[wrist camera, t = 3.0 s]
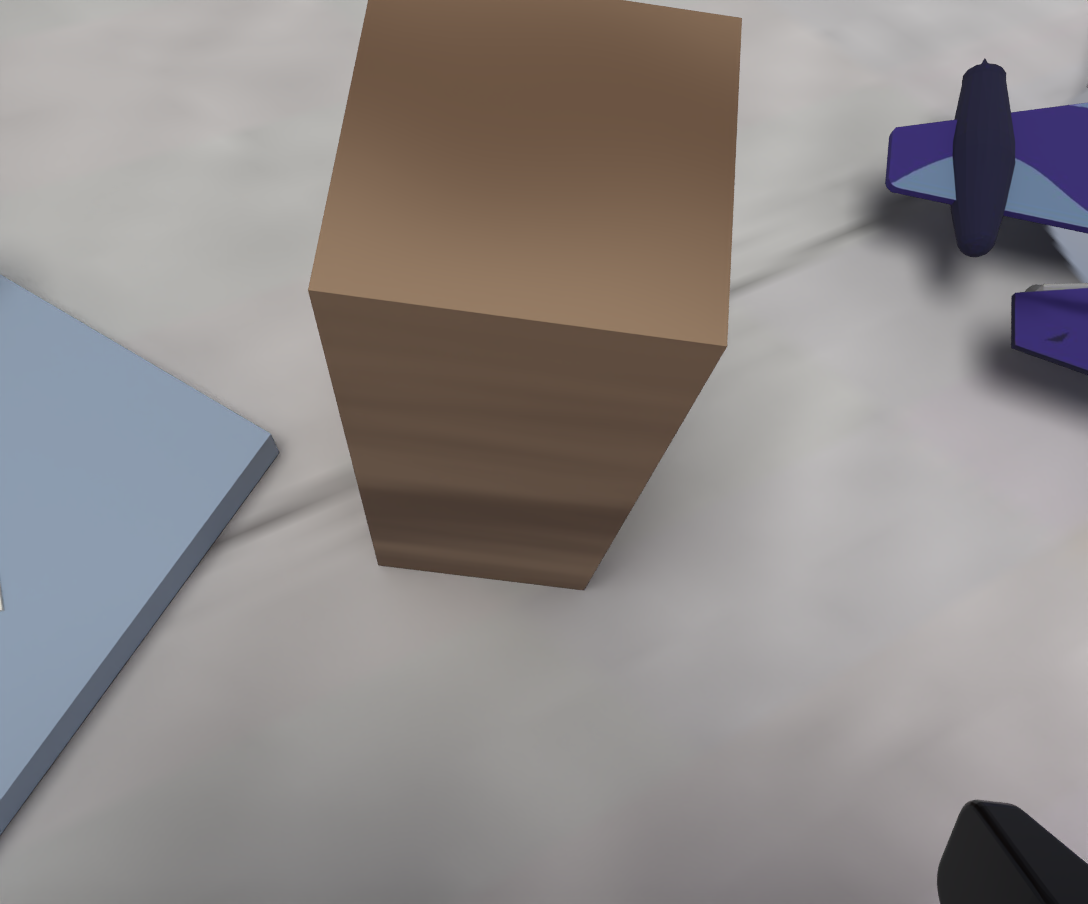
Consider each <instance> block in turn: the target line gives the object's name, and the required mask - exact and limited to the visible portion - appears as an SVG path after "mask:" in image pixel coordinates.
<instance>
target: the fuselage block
mask: <svg viewBox="0 0 1088 904" xmlns="http://www.w3.org/2000/svg"><path fill="white" fill-rule="evenodd" d="M741 26H742V18H738V17H731V16H725V15H718V14H711V13H705V12H698V11H691V10H685V9H678V8H671V7H665V6H658V5H651V4H645V3H638V2H631V1H625V0H368V4H367V9H366V14H365V18H364V23H363V28H362V33H361V38H360V42H359V47H358V52H357V57H356V62H355V67H354V71H353V76H352V81H351V86H350V91H349V95H348V100H347V105H346V110H345V115H344V120H343V124H342V129H341V134H340V139H339V144H338V148H337V153H336V158H335V163H334V168H333V173H332V177H331V182H330V187H329V192H328V197H327V201H326V206H325V211H324V216H323V221H322V225H321V230H320V235H319V240H318V245H317V250H316V254H315V259H314V264H313V269H312V274H311V278H310V283H309V288H308V292H309V296H310V299H311V303H312V307H313V311H314V315H315V319H316V323H317V327H318V331H319V335H320V339H321V343H322V346H323V350H324V354H325V358H326V362H327V366H328V370H329V374H330V378H331V382H332V386H333V390H334V393H335V397H336V401H337V405H338V409H339V413H340V417H341V421H342V425H343V429H344V433H345V437H346V440H347V444H348V448H349V452H350V456H351V460H352V464H353V468H354V472H355V476H356V480H357V484H358V487H359V491H360V495H361V499H362V503H363V507H364V511H365V515H366V519H367V523H368V527H369V531H370V534H371V538H372V542H373V546H374V550H375V554H376V558H377V562H378V565H380V566H389V567H397V568H405V569H413V570H421V571H430V572H438V573H446V574H454V575H462V576H471V577H479V578H487V579H495V580H503V581H512V582H520V583H528V584H536V585H544V586H553V587H561V588H569V589H577V590H584V589H585V588H586V586H587V584H588V583H589V581H590V579H591V577H592V576H593V574H594V572H595V571H596V569H597V567H598V565H599V564H600V562H601V560H602V559H603V557H604V555H605V554H606V552H607V550H608V548H609V547H610V545H611V543H612V542H613V540H614V538H615V536H616V535H617V533H618V531H619V530H620V528H621V526H622V525H623V523H624V521H625V519H626V518H627V516H628V514H629V513H630V511H631V509H632V507H633V506H634V504H635V502H636V501H637V499H638V497H639V496H640V494H641V492H642V490H643V489H644V487H645V485H646V484H647V482H648V480H649V479H650V477H651V475H652V473H653V472H654V470H655V468H656V467H657V465H658V463H659V461H660V460H661V458H662V456H663V455H664V453H665V451H666V450H667V448H668V446H669V444H670V443H671V441H672V439H673V438H674V436H675V434H676V432H677V431H678V429H679V427H680V426H681V424H682V422H683V421H684V419H685V417H686V415H687V414H688V412H689V410H690V409H691V407H692V405H693V403H694V402H695V400H696V398H697V397H698V395H699V393H700V392H701V390H702V388H703V386H704V385H705V383H706V381H707V380H708V378H709V376H710V375H711V373H712V371H713V369H714V368H715V366H716V364H717V363H718V361H719V359H720V357H721V356H722V354H723V352H724V351H725V349H726V347H727V335H728V313H729V291H730V269H731V247H732V225H733V203H734V181H735V158H736V136H737V114H738V92H739V70H740V48H741Z"/></svg>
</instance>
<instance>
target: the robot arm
mask: <svg viewBox="0 0 1088 904" xmlns="http://www.w3.org/2000/svg"><path fill="white" fill-rule="evenodd" d="M937 888H938V895H939V900H940V904H1088V864H1087V863H1086V862H1085V861H1083V860H1082V859H1081V858H1080V857H1079V856H1077V855H1076V854H1075V853H1074V852H1072V851H1071V850H1070V849H1069V848H1068V847H1066V846H1065V845H1064V844H1063V843H1062V842H1060V841H1059V840H1058V839H1057V838H1056V837H1054V836H1053V835H1052V834H1051V833H1050V832H1048V831H1047V830H1046V829H1045V828H1043V827H1042V826H1041V825H1040V824H1039V823H1037V822H1036V821H1035V820H1034V819H1033V818H1031V817H1030V816H1029V815H1028V814H1027V813H1025V812H1024V811H1023V810H1021V809H1020V808H1019V807H1017V806H1015V805H1013V804H1009V803H1002V802H993V801H984V800H972V801H969V802H967V803H966V804H965V805H964V806H963V808H962V810H961V812H960V814H959V816H958V819H957V821H956V823H955V826H954V828H953V831H952V833H951V836H950V838H949V841H948V843H947V846H946V848H945V851H944V853H943V856H942V858H941V861H940V864H939V867H938V873H937Z"/></svg>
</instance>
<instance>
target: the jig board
mask: <svg viewBox="0 0 1088 904" xmlns="http://www.w3.org/2000/svg"><path fill="white" fill-rule="evenodd" d="M278 454H279V451H278V449H277V447H276V444H275V442H274V440H273V438H272V435H271V434H270V433H268V432H267V431H265V430H263V429H262V428H260V427H258V426H257V425H255V424H253V423H251V422H250V421H248V420H246V419H245V418H243V417H241V416H240V415H238V414H236V413H234V412H233V411H231V410H229V409H228V408H226V407H224V406H223V405H221V404H219V403H218V402H216V401H214V400H212V399H211V398H209V397H207V396H206V395H204V394H202V393H201V392H199V391H197V390H195V389H194V388H192V387H190V386H189V385H187V384H185V383H184V382H182V381H180V380H178V379H177V378H175V377H173V376H172V375H170V374H168V373H167V372H165V371H163V370H161V369H160V368H158V367H156V366H155V365H153V364H151V363H150V362H148V361H146V360H145V359H143V358H141V357H139V356H138V355H136V354H134V353H133V352H131V351H129V350H128V349H126V348H124V347H122V346H121V345H119V344H117V343H116V342H114V341H112V340H111V339H109V338H107V337H105V336H104V335H102V334H100V333H99V332H97V331H95V330H94V329H92V328H90V327H89V326H87V325H85V324H83V323H82V322H80V321H78V320H77V319H75V318H73V317H72V316H70V315H68V314H66V313H65V312H63V311H61V310H60V309H58V308H56V307H55V306H53V305H51V304H49V303H48V302H46V301H44V300H43V299H41V298H39V297H38V296H36V295H34V294H32V293H31V292H29V291H27V290H26V289H24V288H22V287H21V286H19V285H17V284H16V283H14V282H12V281H10V280H9V279H7V278H5V277H4V276H2V275H0V835H1V833H2V832H3V831H4V829H5V828H6V826H7V825H8V824H9V822H10V821H11V820H12V818H13V817H14V815H15V814H16V813H17V811H18V810H19V809H20V807H21V806H22V805H23V803H24V802H25V800H26V799H27V798H28V796H29V795H30V794H31V792H32V791H33V789H34V788H35V787H36V785H37V784H38V783H39V781H40V780H41V778H42V777H43V776H44V774H45V773H46V772H47V770H48V769H49V767H50V766H51V765H52V763H53V762H54V761H55V759H56V758H57V757H58V755H59V754H60V752H61V751H62V750H63V748H64V747H65V746H66V744H67V743H68V741H69V740H70V739H71V737H72V736H73V735H74V733H75V732H76V730H77V729H78V728H79V726H80V725H81V724H82V722H83V721H84V720H85V718H86V717H87V715H88V714H89V713H90V711H91V710H92V709H93V707H94V706H95V704H96V703H97V702H98V700H99V699H100V698H101V696H102V695H103V693H104V692H105V691H106V689H107V688H108V687H109V685H110V684H111V682H112V681H113V680H114V678H115V677H116V676H117V674H118V673H119V672H120V670H121V669H122V667H123V666H124V665H125V663H126V662H127V661H128V659H129V658H130V656H131V655H132V654H133V652H134V651H135V650H136V648H137V647H138V645H139V644H140V643H141V641H142V640H143V639H144V637H145V636H146V635H147V633H148V632H149V630H150V629H151V628H152V626H153V625H154V624H155V622H156V621H157V619H158V618H159V617H160V615H161V614H162V613H163V611H164V610H165V608H166V607H167V606H168V604H169V603H170V602H171V600H172V599H173V598H174V596H175V595H176V593H177V592H178V591H179V589H180V588H181V587H182V585H183V584H184V582H185V581H186V580H187V578H188V577H189V576H190V574H191V573H192V571H193V570H194V569H195V567H196V566H197V565H198V563H199V562H200V560H201V559H202V558H203V556H204V555H205V554H206V552H207V551H208V550H209V548H210V547H211V545H212V544H213V543H214V541H215V540H216V539H217V537H218V536H219V534H220V533H221V532H222V530H223V529H224V528H225V526H226V525H227V523H228V522H229V521H230V519H231V518H232V517H233V515H234V514H235V513H236V511H237V510H238V508H239V507H240V506H241V504H242V503H243V502H244V500H245V499H246V497H247V496H248V495H249V493H250V492H251V491H252V489H253V488H254V486H255V485H256V484H257V482H258V481H259V480H260V478H261V477H262V475H263V474H264V473H265V471H266V470H267V469H268V467H269V466H270V465H271V463H272V462H273V460H274V459H275V458H276V456H277V455H278Z"/></svg>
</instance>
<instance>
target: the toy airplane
mask: <svg viewBox="0 0 1088 904" xmlns="http://www.w3.org/2000/svg"><path fill="white" fill-rule="evenodd" d="M1087 88H1088V85H1087ZM885 184H886V187H887V188H888V189H889V190H890V191H891V192H894V193H898V194H903V195H908V196H913V197H917V198H922V199H927V200H932V201H936V202H941V203H946V204H950V205H951V213H952V219H953V224H954V229H955V234H956V240H957V245H958V247H959V249H960V251H961V252H962V253H964V254H965V255H967V256H970V257H979V256H982V255H985V254H987V253H988V252H989V251H990V250H991V249H992V248H993V246H994V244H995V241H996V238H997V234H998V231H999V228H1000V224H1001V221H1002V218H1003V216H1007V217H1012V218H1017V219H1022V220H1026V221H1031V222H1036V223H1041V224H1045V225H1050V226H1055V227H1060V228H1064V229H1069V230H1075V231H1079V232H1083V233H1088V103H1081V104H1073V105H1066V106H1058V107H1050V108H1042V109H1035V110H1027V111H1019V112H1012V113H1011V111H1010V104H1009V97H1008V91H1007V84H1006V72H1005V71H1004V69H1003V68H1002V67H1001V66H998V65H996V64H989V63H988V62H987V61H986V59H984V60H983V62H982V64H980V65H976V66H974V67H972V68H970V69H969V70H967V72H966V73H965V74H964V75H963V80H962V87H961V92H960V97H959V101H958V106H957V110H956V115H955V119H954V120H950V121H942V122H935V123H927V124H919V125H911V126H904V127H896V128H895V129H894V130H893V131H892V133H891V134H890V136H889V145H888V157H887V169H886V181H885ZM1011 348H1012V349H1015V350H1018V351H1021V352H1024V353H1027V354H1029V355H1032V356H1035V357H1038V358H1041V359H1044V360H1047V361H1049V362H1052V363H1055V364H1058V365H1061V366H1064V367H1067V368H1069V369H1072V370H1075V371H1078V372H1081V373H1084V374H1087V375H1088V283H1072V284H1043V285H1032V286H1031V287H1029V288H1028V289H1027V290H1026V291H1025V292H1020V293H1015V294H1014V295H1012V302H1011Z"/></svg>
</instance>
